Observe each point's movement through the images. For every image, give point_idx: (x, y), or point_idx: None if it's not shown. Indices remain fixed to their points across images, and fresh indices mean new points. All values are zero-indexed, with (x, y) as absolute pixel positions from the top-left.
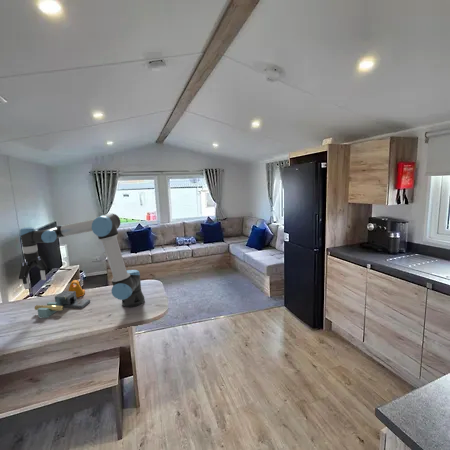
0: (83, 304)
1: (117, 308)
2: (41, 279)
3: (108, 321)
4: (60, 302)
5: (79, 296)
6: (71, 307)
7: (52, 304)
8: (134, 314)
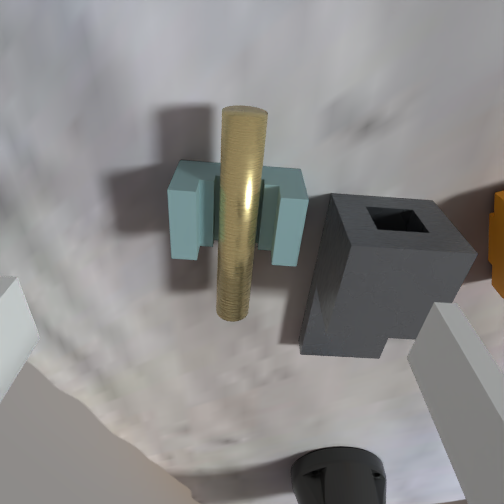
0: (315, 354)
1: (285, 445)
2: (440, 310)
3: (180, 449)
4: (330, 254)
5: (490, 261)
6: (310, 293)
7: (274, 239)
8: (235, 486)
